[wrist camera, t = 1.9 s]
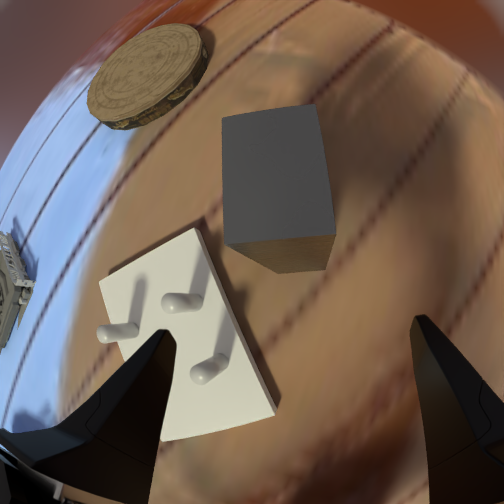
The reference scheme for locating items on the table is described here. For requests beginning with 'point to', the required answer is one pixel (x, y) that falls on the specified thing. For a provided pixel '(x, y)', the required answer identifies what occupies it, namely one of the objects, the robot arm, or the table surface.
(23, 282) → the graphics card
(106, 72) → the brown flat round piece
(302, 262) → the block
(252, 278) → the table surface
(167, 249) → the pin tray
